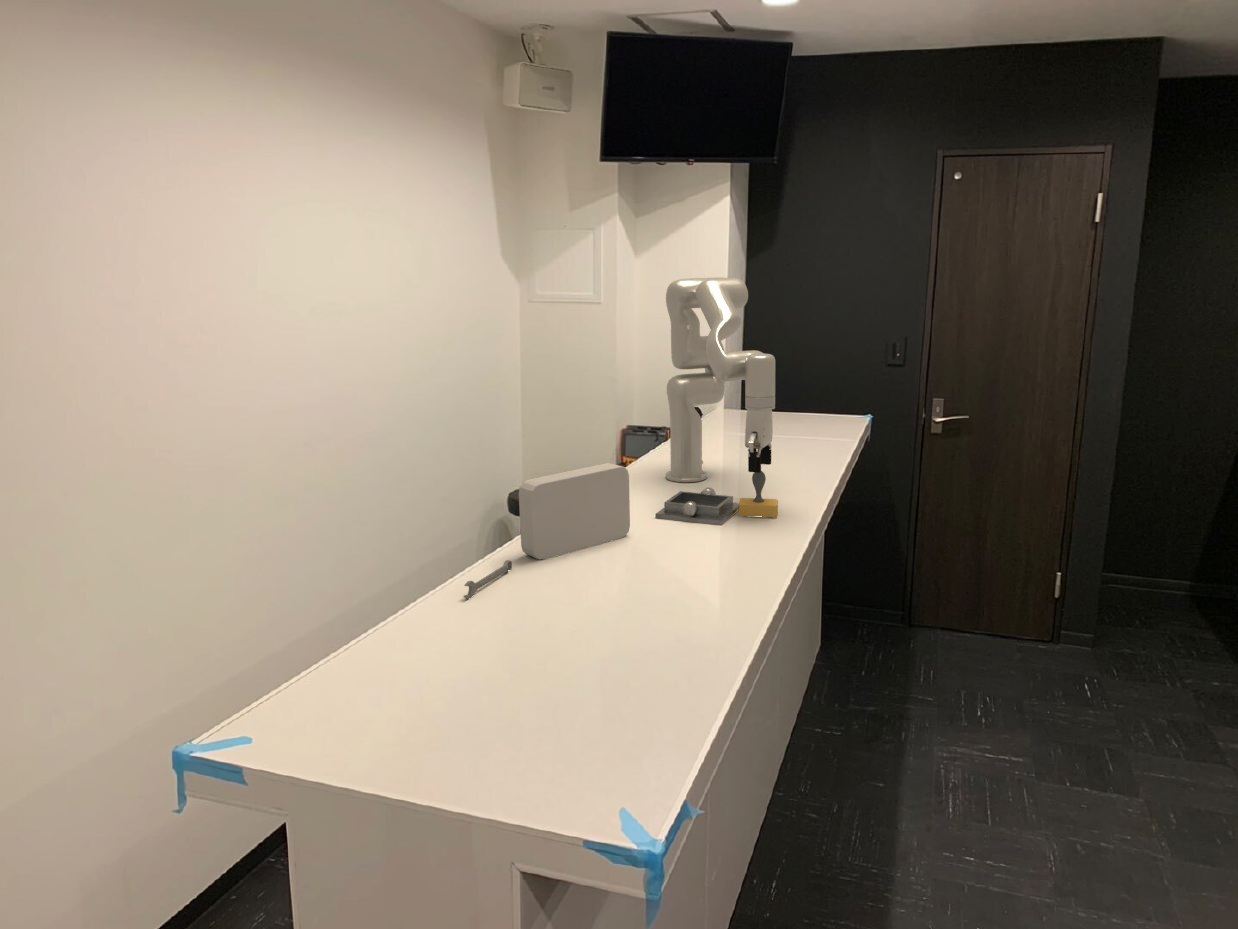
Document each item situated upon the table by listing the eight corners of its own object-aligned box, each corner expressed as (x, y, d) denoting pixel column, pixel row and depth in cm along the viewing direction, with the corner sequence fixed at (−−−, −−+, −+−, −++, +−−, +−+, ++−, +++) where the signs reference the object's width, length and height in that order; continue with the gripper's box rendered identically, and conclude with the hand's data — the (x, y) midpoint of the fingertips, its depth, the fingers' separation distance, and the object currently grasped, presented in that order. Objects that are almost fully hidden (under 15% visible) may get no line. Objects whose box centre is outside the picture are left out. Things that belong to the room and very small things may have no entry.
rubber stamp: (777, 512, 248) (778, 468, 245) (776, 518, 243) (777, 473, 240) (739, 511, 250) (740, 467, 247) (738, 517, 245) (738, 472, 242)
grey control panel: (611, 529, 237) (609, 459, 232) (630, 536, 231) (629, 464, 227) (515, 554, 219) (512, 479, 215) (534, 562, 213) (531, 485, 209)
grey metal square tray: (678, 501, 260) (678, 484, 259) (741, 507, 253) (741, 490, 252) (655, 518, 245) (655, 500, 244) (721, 525, 238) (721, 507, 237)
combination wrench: (508, 556, 209) (459, 584, 191) (513, 556, 208) (465, 585, 190) (508, 572, 209) (460, 601, 191) (513, 572, 209) (466, 602, 191)
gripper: (755, 397, 248) (755, 460, 252) (735, 407, 233) (736, 474, 237) (783, 398, 245) (782, 462, 249) (765, 408, 230) (765, 476, 234)
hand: (759, 468), depth 243 cm, fingers open, 9 cm apart
